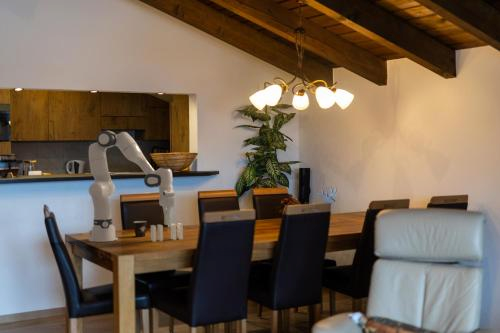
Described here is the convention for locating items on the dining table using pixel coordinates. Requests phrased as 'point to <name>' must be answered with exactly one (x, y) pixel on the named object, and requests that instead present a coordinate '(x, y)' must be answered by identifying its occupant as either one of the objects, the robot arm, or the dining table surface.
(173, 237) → the domino
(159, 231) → the domino
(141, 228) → the coffee mug
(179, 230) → the domino
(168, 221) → the domino
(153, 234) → the domino
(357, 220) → the dining table surface
